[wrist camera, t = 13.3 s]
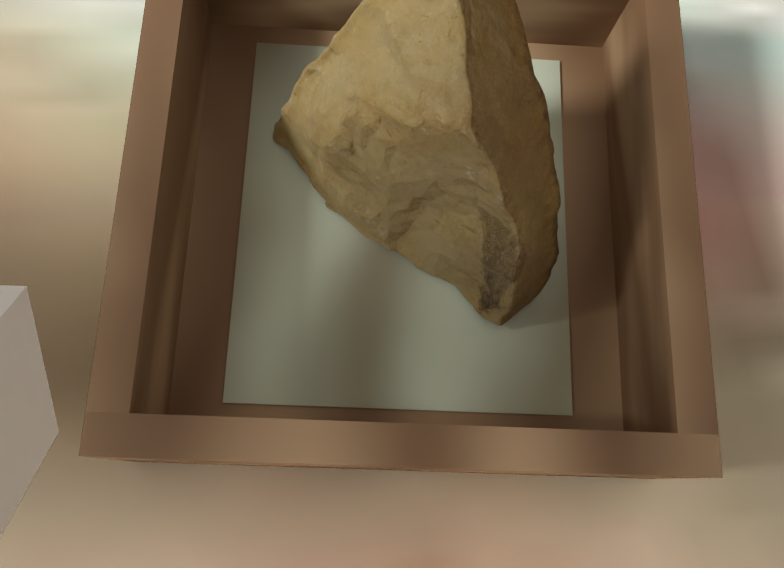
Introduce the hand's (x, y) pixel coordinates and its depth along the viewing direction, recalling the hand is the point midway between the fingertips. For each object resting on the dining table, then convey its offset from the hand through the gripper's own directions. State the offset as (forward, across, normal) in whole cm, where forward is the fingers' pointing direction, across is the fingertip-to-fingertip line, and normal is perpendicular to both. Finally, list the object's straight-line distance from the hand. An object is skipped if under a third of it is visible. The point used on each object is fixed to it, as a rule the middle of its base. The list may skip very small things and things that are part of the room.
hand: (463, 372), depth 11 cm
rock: (+15, 0, -4) cm, 16 cm away
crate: (+16, 0, -5) cm, 16 cm away
